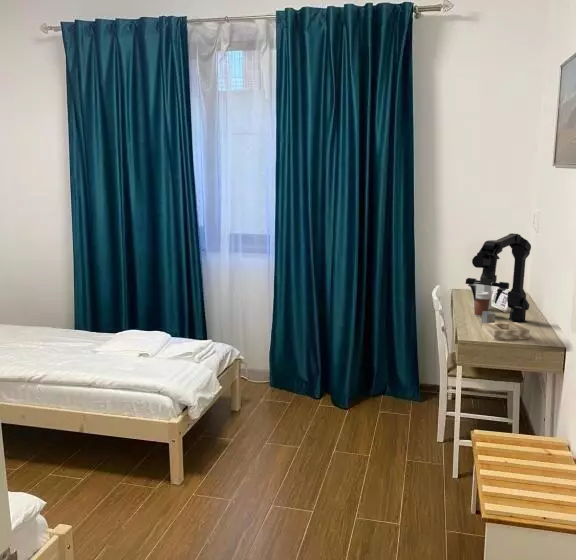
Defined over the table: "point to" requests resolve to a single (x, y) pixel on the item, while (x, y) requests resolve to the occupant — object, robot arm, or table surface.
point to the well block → (505, 331)
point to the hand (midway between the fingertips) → (484, 302)
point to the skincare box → (483, 289)
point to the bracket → (488, 317)
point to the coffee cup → (481, 303)
